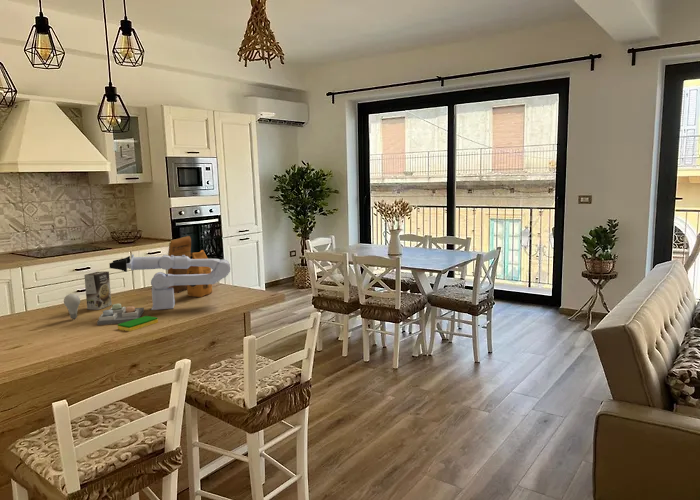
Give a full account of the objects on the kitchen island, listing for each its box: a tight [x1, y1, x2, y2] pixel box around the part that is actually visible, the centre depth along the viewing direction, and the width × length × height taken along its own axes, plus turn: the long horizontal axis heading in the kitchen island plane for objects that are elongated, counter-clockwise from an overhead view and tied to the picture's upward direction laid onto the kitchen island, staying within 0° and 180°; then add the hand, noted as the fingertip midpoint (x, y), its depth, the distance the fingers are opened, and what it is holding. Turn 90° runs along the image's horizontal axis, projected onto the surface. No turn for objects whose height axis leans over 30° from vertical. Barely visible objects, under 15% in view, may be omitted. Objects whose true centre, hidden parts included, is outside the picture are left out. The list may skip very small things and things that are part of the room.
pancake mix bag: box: [167, 235, 192, 294], centre depth 264 cm, size 7×19×28 cm, turn 157°
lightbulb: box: [63, 293, 81, 320], centre depth 213 cm, size 6×6×11 cm
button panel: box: [96, 306, 145, 326], centre depth 215 cm, size 15×18×3 cm
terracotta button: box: [125, 305, 136, 313], centre depth 213 cm, size 4×4×2 cm
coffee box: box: [84, 271, 113, 311], centre depth 233 cm, size 9×6×16 cm
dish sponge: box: [117, 315, 159, 332], centre depth 203 cm, size 7×14×2 cm, turn 152°
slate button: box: [102, 309, 113, 317], centre depth 208 cm, size 4×4×2 cm
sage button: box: [111, 303, 122, 310], centre depth 218 cm, size 4×4×2 cm
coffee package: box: [186, 249, 213, 298], centre depth 254 cm, size 10×12×22 cm
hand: (111, 264), depth 223 cm, fingers open, 7 cm apart
